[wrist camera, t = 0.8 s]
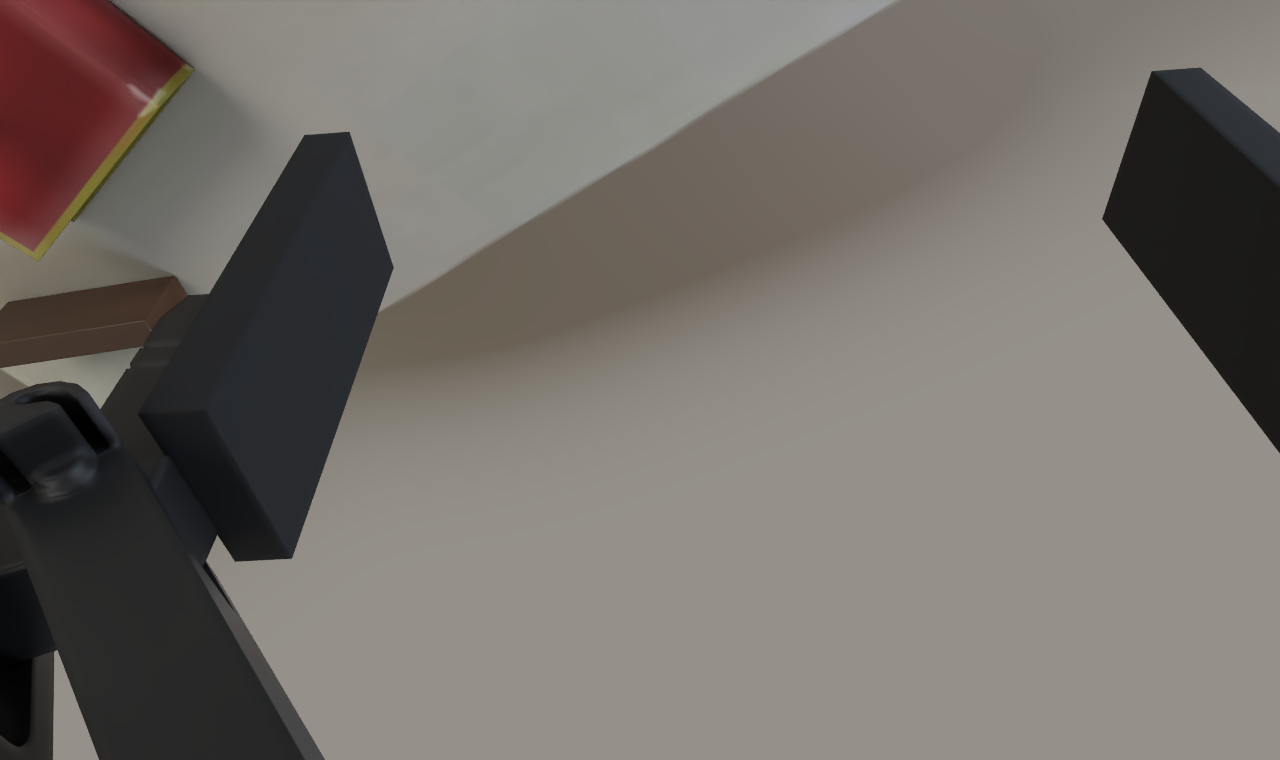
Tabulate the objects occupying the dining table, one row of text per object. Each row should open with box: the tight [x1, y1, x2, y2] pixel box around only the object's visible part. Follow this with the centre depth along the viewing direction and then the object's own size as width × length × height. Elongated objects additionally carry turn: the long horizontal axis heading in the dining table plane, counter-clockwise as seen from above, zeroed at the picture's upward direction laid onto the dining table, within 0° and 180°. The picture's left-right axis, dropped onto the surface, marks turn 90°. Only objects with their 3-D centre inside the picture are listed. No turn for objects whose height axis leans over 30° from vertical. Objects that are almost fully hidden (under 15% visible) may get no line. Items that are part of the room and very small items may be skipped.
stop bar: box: [0, 276, 188, 368], centre depth 46 cm, size 2×10×4 cm, turn 100°
